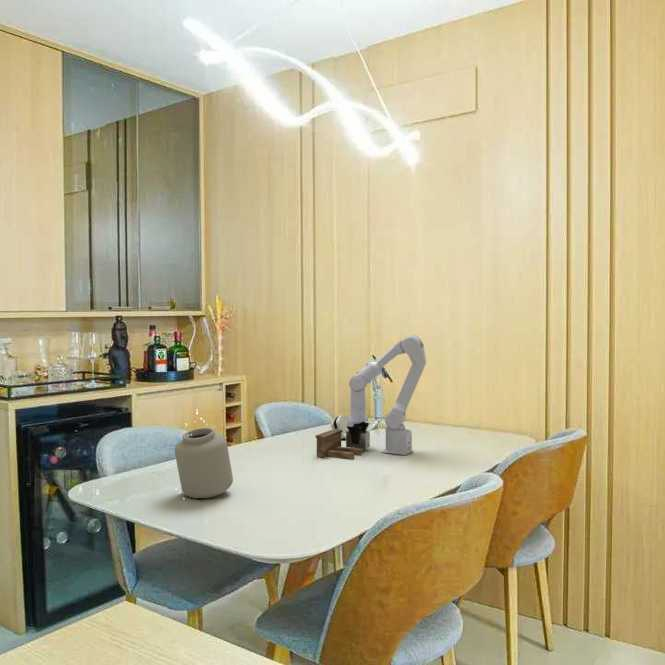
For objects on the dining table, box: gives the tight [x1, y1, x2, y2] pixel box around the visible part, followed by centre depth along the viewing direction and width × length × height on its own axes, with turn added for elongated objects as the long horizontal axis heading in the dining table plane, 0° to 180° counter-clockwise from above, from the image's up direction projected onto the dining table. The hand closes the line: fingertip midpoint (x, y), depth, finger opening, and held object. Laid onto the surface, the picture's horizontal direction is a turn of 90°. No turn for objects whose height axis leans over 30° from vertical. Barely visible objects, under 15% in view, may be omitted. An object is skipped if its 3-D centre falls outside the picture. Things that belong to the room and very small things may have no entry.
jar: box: [174, 409, 234, 500], centre depth 189 cm, size 19×15×25 cm
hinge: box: [330, 414, 350, 440], centre depth 276 cm, size 17×5×10 cm, turn 163°
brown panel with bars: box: [315, 428, 363, 460], centre depth 241 cm, size 13×15×8 cm
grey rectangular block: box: [345, 430, 371, 450], centre depth 250 cm, size 8×4×6 cm, turn 63°
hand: (357, 442), depth 250 cm, fingers closed on grey rectangular block, 4 cm apart
